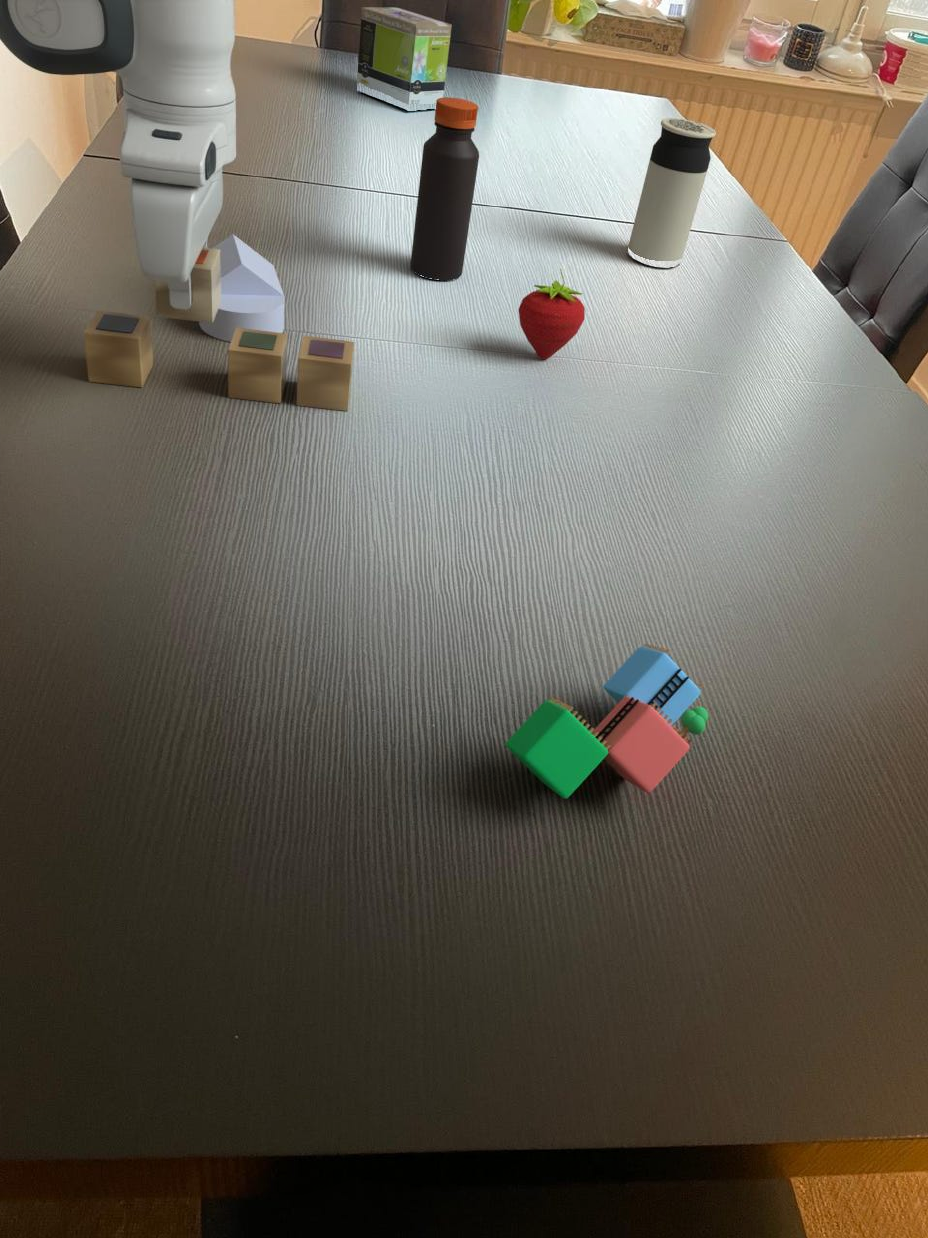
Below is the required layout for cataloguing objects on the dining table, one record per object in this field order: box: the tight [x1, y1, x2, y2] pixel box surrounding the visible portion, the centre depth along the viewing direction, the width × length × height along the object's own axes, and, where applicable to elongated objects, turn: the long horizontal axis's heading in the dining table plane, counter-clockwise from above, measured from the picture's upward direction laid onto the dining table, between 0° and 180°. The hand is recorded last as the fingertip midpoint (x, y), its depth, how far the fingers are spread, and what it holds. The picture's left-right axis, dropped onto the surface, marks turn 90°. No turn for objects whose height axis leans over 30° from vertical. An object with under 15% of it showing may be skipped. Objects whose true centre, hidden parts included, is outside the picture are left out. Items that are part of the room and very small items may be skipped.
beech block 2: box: [227, 328, 288, 404], centre depth 95 cm, size 5×5×5 cm
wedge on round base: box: [198, 233, 286, 343], centre depth 107 cm, size 9×7×13 cm
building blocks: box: [505, 643, 709, 800], centre depth 64 cm, size 8×8×12 cm
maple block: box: [154, 247, 221, 323], centre depth 90 cm, size 5×5×5 cm
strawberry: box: [518, 268, 586, 360], centre depth 109 cm, size 6×8×10 cm
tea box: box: [356, 6, 453, 105], centre depth 188 cm, size 15×10×15 cm
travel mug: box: [627, 117, 717, 261], centre depth 138 cm, size 8×8×18 cm
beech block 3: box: [295, 335, 355, 412], centre depth 96 cm, size 5×5×5 cm
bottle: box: [410, 96, 480, 281], centre depth 121 cm, size 7×7×20 cm
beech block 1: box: [83, 310, 154, 388], centre depth 94 cm, size 5×5×5 cm
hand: (188, 292), depth 91 cm, fingers closed on maple block, 5 cm apart
